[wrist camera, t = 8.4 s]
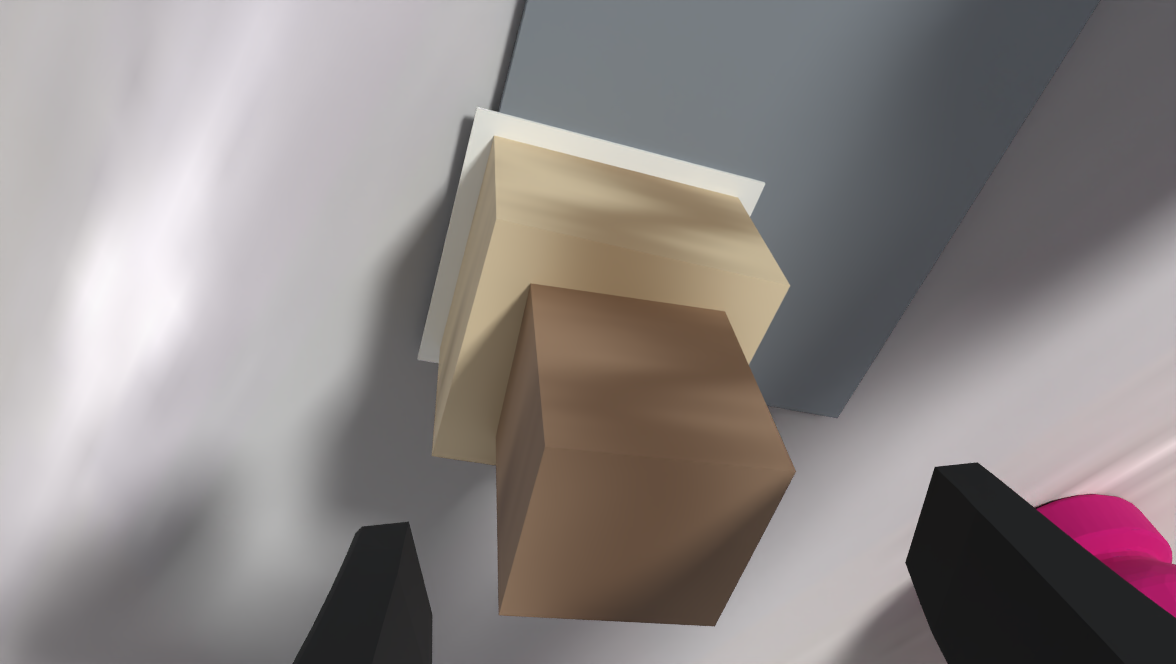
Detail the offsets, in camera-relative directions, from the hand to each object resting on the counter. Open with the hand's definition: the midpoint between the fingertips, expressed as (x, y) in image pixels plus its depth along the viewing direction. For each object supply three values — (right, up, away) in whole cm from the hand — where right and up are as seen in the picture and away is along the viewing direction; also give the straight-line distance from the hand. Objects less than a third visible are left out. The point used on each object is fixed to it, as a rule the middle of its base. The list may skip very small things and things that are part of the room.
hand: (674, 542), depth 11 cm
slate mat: (+2, +7, +8) cm, 11 cm away
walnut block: (-1, +2, +6) cm, 6 cm away
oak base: (-1, +4, +9) cm, 10 cm away
